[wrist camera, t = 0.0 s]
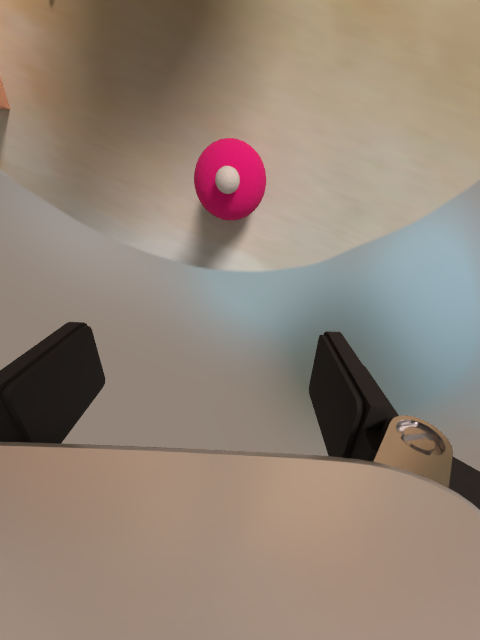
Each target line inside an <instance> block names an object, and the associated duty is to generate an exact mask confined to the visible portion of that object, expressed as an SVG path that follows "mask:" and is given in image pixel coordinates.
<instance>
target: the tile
mask: <svg viewBox="0 0 480 640" xmlns="http://www.w3.org/2000/svg"><path fill="white" fill-rule="evenodd" d="M0 109H10V107H9V104H8V101H7V97H6V94H5V91H4V87H3V84H2V81H1V78H0Z"/></svg>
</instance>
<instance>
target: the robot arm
mask: <svg viewBox="0 0 480 640" xmlns="http://www.w3.org/2000/svg"><path fill="white" fill-rule="evenodd" d="M104 384H105V376H104V373H103V369H102V365H101V362H100V358H99V355H98V351H97V347H96V343H95V340H94V336H93V332H92V329H91V328H90V327H89V326H87V324H85V323H79V322H68V323H66V324H65V325H63V326H62V327H61V328H59V329H58V330H56V331H55V332H54V333H52V334H51V335H50V336H48V337H47V338H45V339H44V340H43V341H41V342H40V343H38V344H37V345H35V346H34V347H33V348H31V349H30V350H28V351H27V352H26V353H24V354H23V355H21V356H20V357H19V358H17V359H16V360H14V361H13V362H12V363H10V364H9V365H8V366H6V367H5V368H3V369H2V370H0V640H480V472H479V471H478V470H475V469H474V468H472V467H470V466H468V465H467V464H465V463H463V462H461V461H460V460H458V459H456V458H454V457H453V450H452V446H451V444H450V442H449V440H448V439H447V438H446V437H445V435H444V434H443V433H442V432H441V431H439V430H438V429H437V428H435V427H434V426H433V425H431V424H429V423H428V422H426V421H424V420H421V419H418V418H416V417H412V416H407V415H406V416H399V415H398V414H397V412H396V411H395V409H394V408H393V407H392V405H391V403H390V402H389V401H388V399H387V398H386V396H385V395H384V393H383V392H382V390H381V389H380V388H379V386H378V385H377V383H376V382H375V380H374V379H373V377H372V376H371V374H370V373H369V371H368V370H367V369H366V367H365V366H364V365H362V363H361V362H360V360H359V359H358V357H357V356H356V354H355V353H354V351H353V350H352V348H351V347H350V346H349V344H348V342H347V341H346V339H345V338H344V337H343V335H342V334H341V333H340V332H325V333H324V335H320V336H319V340H318V345H317V350H316V355H315V360H314V365H313V370H312V375H311V380H310V385H309V394H310V398H311V400H312V404H313V407H314V410H315V413H316V416H317V419H318V423H319V426H320V430H321V433H322V436H323V439H324V442H325V446H326V449H327V452H328V455H329V456H317V455H302V454H285V453H268V452H267V453H266V452H245V451H225V450H224V451H223V450H204V449H182V448H157V447H134V446H109V445H83V444H81V445H80V444H61V443H62V441H63V440H64V439H65V437H66V436H67V435H68V433H69V432H70V431H71V429H72V428H73V426H74V425H75V424H76V423H77V421H78V420H79V418H80V417H81V416H82V415H83V413H84V412H85V411H86V409H87V408H88V407H89V405H90V404H91V403H92V401H93V400H94V398H95V397H96V396H97V394H98V393H99V392H100V390H101V389H102V388H103V386H104Z"/></svg>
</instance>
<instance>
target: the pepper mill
mask: <svg viewBox="0 0 480 640" xmlns="http://www.w3.org/2000/svg"><path fill="white" fill-rule="evenodd" d="M194 183H195V189H196V193H197V196H198V198H199V200H200V202H201V203H202V205H203V206H204V207H205V209H206V210H207V211H209V212H210V213H211V214H212V215H214V216H216V217H218V218H220V219H223V220H238V219H241V218H244V217H246V216H248V215H249V214H251V213H252V212H253V211H254V210H255V209H256V208H257V207H258V205H259V204H260V202H261V200H262V198H263V195H264V192H265V187H266V174H265V168H264V165H263V162H262V160H261V158H260V156H259V155H258V153H257V152H256V151H255V150H254V149H253V148H252V147H251V146H250V145H248V144H247V143H245V142H243V141H241V140H238V139H234V138H226V139H221V140H218V141H216V142H213V143H212V144H211V145H209V146H208V147H207V148H206V149H205V150H204V151H203V152H202V154H201V156H200V157H199V159H198V162H197V164H196V168H195V174H194Z"/></svg>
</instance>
